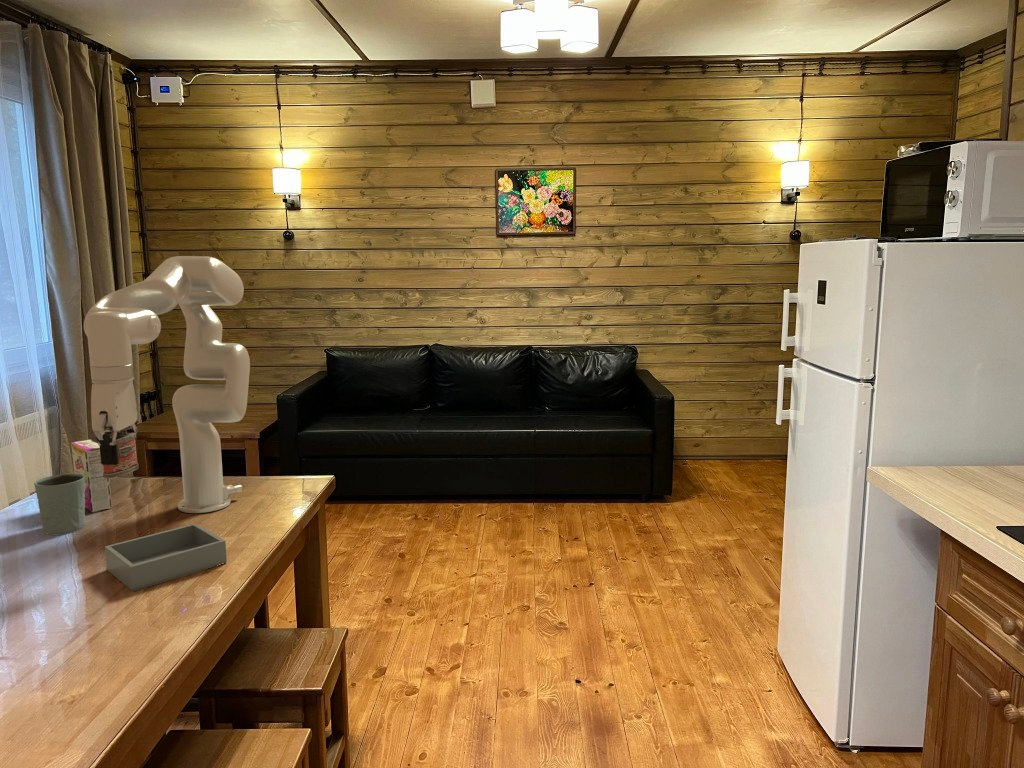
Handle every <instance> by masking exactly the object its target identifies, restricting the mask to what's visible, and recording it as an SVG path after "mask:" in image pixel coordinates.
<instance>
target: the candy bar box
mask: <svg viewBox="0 0 1024 768" xmlns="http://www.w3.org/2000/svg"><path fill="white" fill-rule="evenodd" d="M70 445H71V456H72V464H73V471H74V472H73V474H81V475H84V476H85V488H84V495H85V497H84V498H85V510H87V511H89V512H91V513H92V512H93V513H98V512H97V511H99V512H102V510H103V511H105V510H106V509H107V510H109V509H112V500H111V491H110V481H109V479H110V478H104V477H103V472H104V467H103V465H102V464H101V456H100V446H99V445H98V442H96V441H94V440H92V439H85V440H78V441H73V442H71V443H70Z"/></svg>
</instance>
